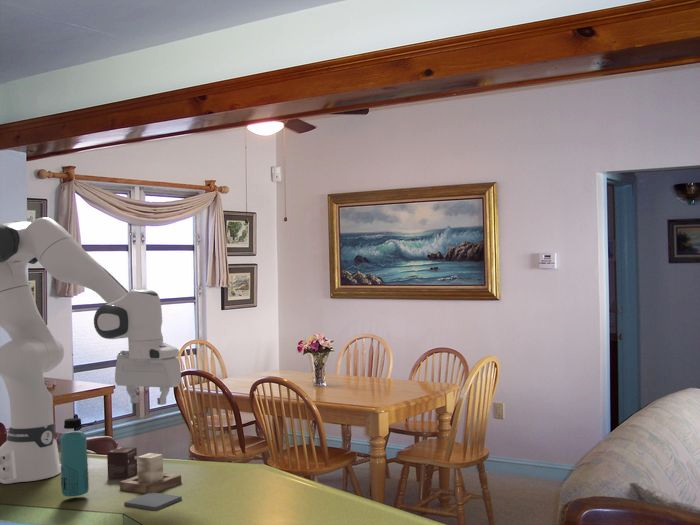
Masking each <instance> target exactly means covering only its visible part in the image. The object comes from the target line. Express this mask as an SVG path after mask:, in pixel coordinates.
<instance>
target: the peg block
mask: <svg viewBox="0 0 700 525" xmlns="http://www.w3.org/2000/svg"><path fill="white" fill-rule="evenodd" d="M163 459H164V458H163V454H162V453H153V452H148V453H145V454H143V455H139V456H137V472H138V473H137V476H138V482H146V483H154V482H156V481H159V480H162V479H163V473H164V463H163V462H164V460H163Z"/></svg>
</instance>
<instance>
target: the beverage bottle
mask: <svg viewBox="0 0 700 525" xmlns="http://www.w3.org/2000/svg"><path fill="white" fill-rule="evenodd" d="M63 423H64V424H63V428H64V430H65V429H67V430H71V429H72V431H67V432H64V433H63V434H62V435H61V436H60V437H59V442H60V464H61V473H60V474H61V475H60V484H61V485H60V487H61V494H62V495H63V497H77V496H82V495H86V494H87V493H88V492H89V487H90V485H89V479H90V477H89V474H90V473H89V463H88V449H87V448H88V446H87V434H86V433H84V431H82V430H73V429H79V428H82V426H83V425H82V419H81V418H79V417H71V418H66V419H65V420H64V422H63Z"/></svg>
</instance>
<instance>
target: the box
mask: <svg viewBox="0 0 700 525" xmlns="http://www.w3.org/2000/svg"><path fill="white" fill-rule="evenodd" d="M137 450H138V449H137V447H116V448H113V449H111V450H109V451H107V453H106V454H107V455H106V457H107V462H106V463H107V479H119V480H122V479H124V480H126V479H129V478H132V477H135V476H136V475H138V460H137V457H138V454H137Z"/></svg>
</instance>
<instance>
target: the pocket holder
mask: <svg viewBox="0 0 700 525" xmlns="http://www.w3.org/2000/svg"><path fill="white" fill-rule="evenodd" d="M181 483H182V475H181V474H174V473H166V472H163V479H162V480H159V481H156V482H154V483H146V482H138V475H134V476H132V477H130V478H128V479H124V480H121V481H119V490H120V491H128V492H135V493H142V494H147V493H150V492H153V493H159V492H162V491H164V490H166V489H169V488H171V487H175V486H177V485H179V484H181Z"/></svg>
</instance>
